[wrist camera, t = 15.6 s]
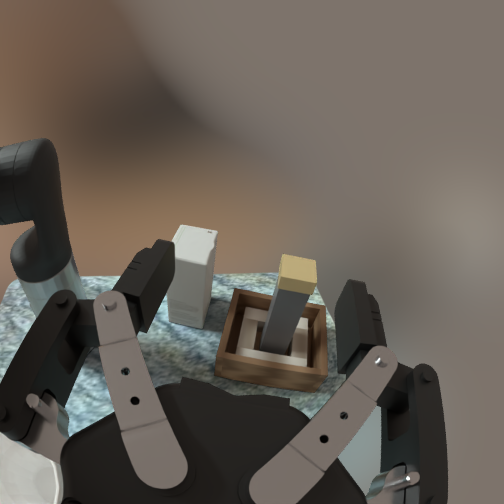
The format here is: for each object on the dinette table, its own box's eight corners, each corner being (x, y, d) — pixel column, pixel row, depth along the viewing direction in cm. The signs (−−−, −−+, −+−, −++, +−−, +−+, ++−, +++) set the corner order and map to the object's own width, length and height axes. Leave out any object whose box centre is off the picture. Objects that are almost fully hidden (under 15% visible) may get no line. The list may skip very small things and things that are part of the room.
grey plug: (256, 356, 44) (280, 276, 33) (259, 335, 48) (282, 253, 37) (282, 361, 44) (316, 283, 33) (284, 340, 48) (315, 260, 37)
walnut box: (214, 375, 41) (216, 356, 37) (231, 310, 52) (234, 287, 49) (314, 392, 41) (327, 375, 37) (315, 326, 52) (325, 305, 48)
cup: (59, 538, 13) (16, 538, 7) (8, 471, 18) (-37, 448, 11) (113, 499, 22) (82, 492, 15) (57, 433, 27) (20, 405, 20)
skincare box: (180, 290, 54) (180, 222, 45) (213, 297, 54) (220, 229, 45) (167, 323, 47) (161, 253, 38) (204, 331, 48) (207, 262, 38)
